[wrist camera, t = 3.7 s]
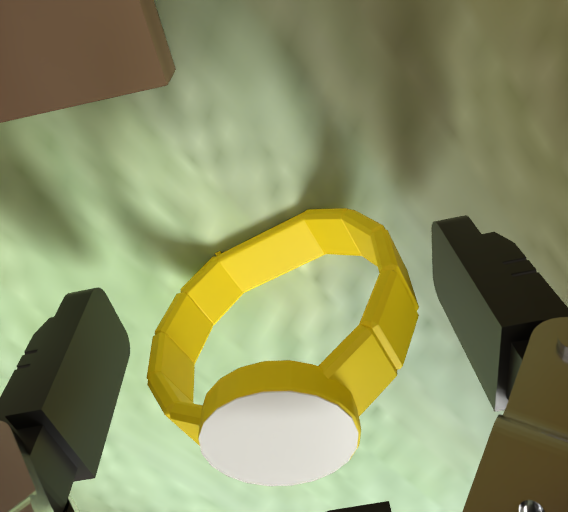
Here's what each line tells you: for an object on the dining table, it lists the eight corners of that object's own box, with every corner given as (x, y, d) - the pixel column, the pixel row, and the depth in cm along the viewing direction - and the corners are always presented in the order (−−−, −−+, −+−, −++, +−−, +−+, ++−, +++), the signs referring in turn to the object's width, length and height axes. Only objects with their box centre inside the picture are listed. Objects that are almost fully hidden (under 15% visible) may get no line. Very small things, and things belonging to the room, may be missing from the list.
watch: (212, 317, 15) (175, 522, 10) (156, 251, 13) (80, 454, 8) (401, 241, 13) (467, 443, 8) (360, 155, 11) (412, 341, 7)
